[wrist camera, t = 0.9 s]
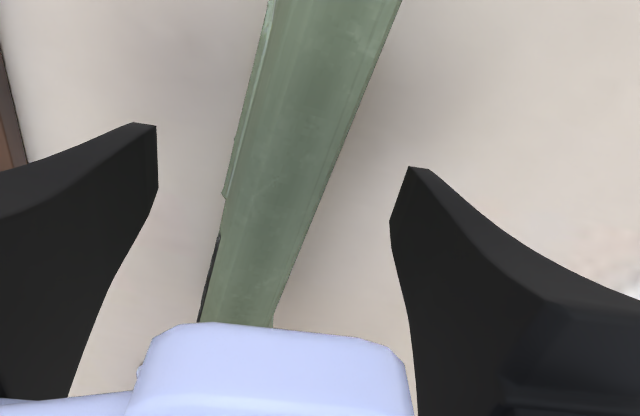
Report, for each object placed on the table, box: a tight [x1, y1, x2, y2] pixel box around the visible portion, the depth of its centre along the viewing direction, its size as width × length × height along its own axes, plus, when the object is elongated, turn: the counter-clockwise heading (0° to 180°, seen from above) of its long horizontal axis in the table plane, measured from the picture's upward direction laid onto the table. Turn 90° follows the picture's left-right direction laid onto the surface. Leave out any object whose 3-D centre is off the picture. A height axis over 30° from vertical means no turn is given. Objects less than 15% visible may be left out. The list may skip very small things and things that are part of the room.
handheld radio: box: [196, 0, 402, 328], centre depth 15 cm, size 7×3×25 cm
